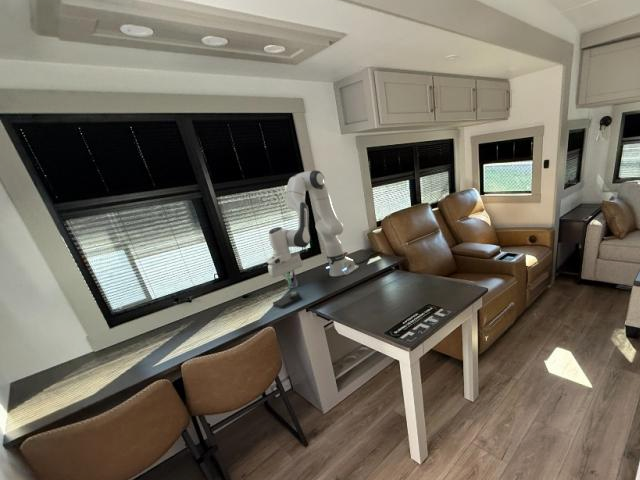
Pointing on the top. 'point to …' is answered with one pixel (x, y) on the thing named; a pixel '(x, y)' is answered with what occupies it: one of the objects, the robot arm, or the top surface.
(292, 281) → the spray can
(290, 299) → the scale
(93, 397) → the top surface
